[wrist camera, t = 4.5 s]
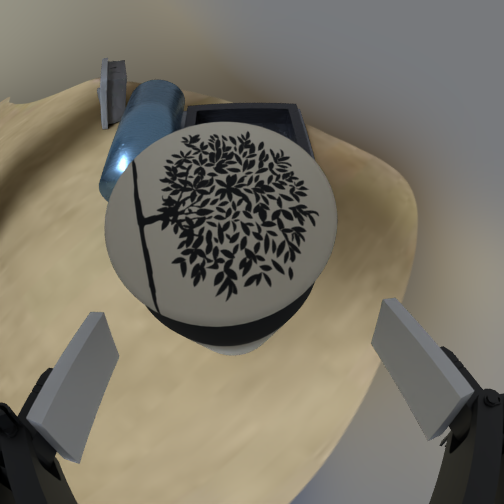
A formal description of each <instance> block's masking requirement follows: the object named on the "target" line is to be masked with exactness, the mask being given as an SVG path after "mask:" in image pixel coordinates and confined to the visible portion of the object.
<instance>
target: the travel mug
mask: <svg viewBox="0 0 504 504" xmlns="http://www.w3.org/2000/svg"><path fill="white" fill-rule="evenodd" d="M336 233H337V208H336V202H335V198H334V195H333V191H332V189H331V186H330V184H329V182H328V180H327V178H326V176H325V174H324V173H323V171H322V170H321V168H320V167H319V165H318V164H317V163H316V162H315V160H314V159H313V158H312V157H311V156H310V155H309V154H308V153H307V152H306V151H305V150H303V149H302V148H301V147H300V146H299V145H297V144H296V143H294V142H293V141H291V140H290V139H288V138H286V137H284V136H283V135H280V134H278V133H276V132H274V131H271V130H269V129H266V128H263V127H259V126H256V125H251V124H246V123H238V122H212V123H204V124H199V125H194V126H190V127H187V128H184V129H181V130H178V131H175V132H173V133H171V134H169V135H167V136H165V137H163V138H161V139H159V140H158V141H156V142H154V143H153V144H151V145H150V146H149V147H147V148H146V149H145V150H143V151H142V152H141V153H140V154H139V155H138V156H137V157H136V158H135V159H134V160H133V161H132V162H131V163H130V164H129V165H128V166H127V168H126V169H125V170H124V172H123V173H122V175H121V176H120V178H119V179H118V181H117V183H116V185H115V187H114V189H113V191H112V193H111V196H110V199H109V202H108V205H107V210H106V215H105V241H106V247H107V251H108V255H109V258H110V260H111V263H112V265H113V268H114V270H115V271H116V273H117V275H118V277H119V278H120V280H121V281H122V282H123V284H124V285H125V287H126V288H127V289H128V290H129V291H130V292H131V293H132V294H133V295H134V296H135V297H136V298H137V299H138V300H140V301H141V302H142V303H143V304H145V305H146V307H147V308H148V310H149V311H150V312H151V313H152V314H153V315H154V316H155V317H156V318H157V319H158V320H159V321H160V322H161V323H163V324H164V325H165V326H167V327H168V328H169V329H171V330H173V331H175V332H176V333H178V334H180V335H182V336H184V337H186V338H188V339H190V340H192V341H194V342H196V343H198V344H200V345H202V346H204V347H206V348H208V349H210V350H212V351H215V352H217V353H220V354H224V355H241V354H245V353H249V352H251V351H253V350H255V349H257V348H258V347H260V346H261V345H262V344H263V343H264V342H265V341H266V340H268V339H269V338H270V337H271V336H272V335H273V334H274V333H275V332H276V331H277V330H278V329H279V328H281V327H282V326H283V325H284V324H285V323H286V322H287V321H288V320H289V319H290V318H291V317H292V316H293V315H294V314H295V313H296V312H297V311H298V310H299V309H300V307H301V306H302V305H303V303H304V302H305V301H306V299H307V297H308V296H309V294H310V292H311V290H312V288H313V285H314V283H315V280H316V279H317V278H318V276H319V275H320V274H321V272H322V271H323V269H324V267H325V265H326V264H327V262H328V259H329V257H330V255H331V253H332V249H333V246H334V243H335V238H336Z"/></svg>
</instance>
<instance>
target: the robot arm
mask: <svg viewBox="0 0 504 504" xmlns="http://www.w3.org/2000/svg"><path fill="white" fill-rule="evenodd" d="M371 344H372V346H373V347H374V349H375V351H376V352H377V354H378V355H379V357H380V359H381V360H382V362H383V363H384V365H385V367H386V369H387V370H388V372H389V373H390V375H391V377H392V378H393V380H394V382H395V383H396V385H397V386H398V389H399V390H400V392H401V394H402V395H403V397H404V399H405V401H406V402H407V404H408V406H409V408H410V410H411V411H412V413H413V415H414V417H415V418H416V420H417V422H418V424H419V426H420V427H421V429H422V431H423V433H424V435H425V437H426V438H427V440H428V441H429V440H431V439H433V438H435V437H437V436H440V435H441V434H442V433H443V432H444V431H445V430H446V429H447V427H448V426H449V427H450V429H451V431H450V433H449V434H448V435H447V436H446V437H445V438H444V439H443V440H442V442H441V444H440V446H442V445H443V444H444V443H445V442H446V441H447V443H446V445H445V447H446V448H445V453H444V457H443V461H442V465H441V468H440V472H439V475H438V479H437V482H436V485H435V488H434V491H433V494H432V497H431V500H430V503H429V504H504V394H499V393H497V392H496V391H495V390H492V389H484V390H483V389H482V388H481V387H480V385H479V384H478V383H477V382H476V380H475V379H474V378H473V377H472V375H471V374H470V373H469V372H468V370H467V369H466V368H465V367H464V366H463V364H462V363H461V362H460V361H459V360H458V358H457V357H456V356H455V355H454V354H453V352H451V351H450V350H448V349H447V348H445V347H444V346H443V347H439V346H438V345H437V344H436V342H435V341H434V340H433V339H432V338H431V337H430V336H429V334H428V333H427V332H426V331H425V330H424V329H423V327H422V326H421V325H420V324H419V323H418V322H417V321H416V320H415V319H414V318H413V316H412V315H411V314H410V313H409V312H408V311H407V310H406V309H405V308H404V307H403V305H402V304H401V303H400V302H399V301H398V300H397V299H396V298H390V299H383V300H382V304H381V309H380V313H379V317H378V320H377V324H376V328H375V331H374V335H373V338H372V342H371ZM118 359H119V354H118V351H117V349H116V346H115V343H114V341H113V338H112V335H111V332H110V329H109V326H108V323H107V320H106V317H105V314H104V312H90V314H89V315H88V316H87V318H86V319H85V321H84V322H83V324H82V325H81V326H80V328H79V329H78V331H77V332H76V334H75V335H74V337H73V338H72V340H71V341H70V343H69V344H68V346H67V348H66V349H65V351H64V352H63V354H62V355H61V357H60V359H59V360H58V362H57V363H56V365H55V367H54V368H48V369H47V370H46V371H45V372H44V373H43V374H42V375H41V376H40V378H39V379H38V381H37V383H36V385H35V386H34V388H33V390H32V392H31V393H30V395H29V397H28V398H27V400H26V402H25V404H24V406H23V407H22V409H21V411H20V413H19V415H18V416H16V415H15V413H14V412H13V411H12V410H11V408H10V407H9V406H8V405H7V404H5V403H0V504H77V502H76V500H75V498H74V496H73V494H72V492H71V490H70V487H69V485H68V483H67V481H66V479H65V476H64V474H63V472H62V469H61V467H60V464H59V462H58V460H57V458H56V457H55V455H56V452H58V453H59V454H60V455H61V456H62V457H63V458H64V459H67V460H70V461H72V462H75V463H79V464H80V460H81V457H82V454H83V451H84V448H85V445H86V442H87V439H88V436H89V433H90V430H91V427H92V424H93V422H94V419H95V416H96V413H97V411H98V408H99V405H100V403H101V400H102V397H103V395H104V392H105V390H106V387H107V385H108V382H109V380H110V377H111V375H112V373H113V370H114V368H115V366H116V363H117V361H118Z"/></svg>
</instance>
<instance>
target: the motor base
mask: <svg viewBox="0 0 504 504" xmlns="http://www.w3.org/2000/svg"><path fill="white" fill-rule="evenodd" d="M184 105H185V98H184V95H183V93H182V91H181V90H180V89H179V88H178V87H177V86H176V85H175V84H173V83H171V82H168V81H165V80H150V81H147V82H144V83H142V84H140V85H139V86H138V87H137V88H136V89H135V90H134V91H133V93H132V95H131V97H130V100H129V102H128V104H127V106H126V109H125V111H124V114H123V116H122V118H121V121H120V123H119V126H118V129H117V131H116V134H115V137H114V139H113V142H112V145H111V148H110V151H109V154H108V157H107V160H106V163H105V166H104V169H103V172H102V176H101V179H100V183H99V190H100V193H101V195H102V196H103V197H104V199H105V200H106V201H108V202H109V199H110V196H111V193H112V191H113V189H114V187H115V185H116V183H117V181H118V179H119V178H120V176H121V175H122V173H123V172H124V170H125V169H126V168H127V166H128V165H129V164H130V163H131V162H132V161H133V160H134V159H135V158H136V157H137V156H138V155H139V154H140V153H141V152H142V151H143V150H145V149H146V148H147V147H149V146H150V145H151V144H153V143H154V142H156V141H158V140H159V139H161V138H163V137H165V136H167V135H169V134H171V133H173V132H175V131H178V130H181V129H184V128H187V127H190V126H194V125H199V124H204V123H212V122H238V123H246V124H251V125H256V126H259V127H263V128H266V129H269V130H271V131H274V132H276V133H278V134H280V135H283V136H284V137H286V138H288V139H290V140H291V141H293V142H294V143H296V144H297V145H299V146H300V147H301V148H302V149H303V150H305V151H306V152H307V153H308V154H309V155H310V156H311V157H312V158H313V159H314V160H315V158H314V155H313V151H312V147H311V144H310V141H309V137H308V134H307V130H306V127H305V124H304V121H303V118H302V115H301V111H300V109H298V108H297V105H296V104H286V103H226V104H208V105H195V106H188V108H187V111H184Z"/></svg>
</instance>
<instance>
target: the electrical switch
mask: <svg viewBox="0 0 504 504" xmlns="http://www.w3.org/2000/svg"><path fill="white" fill-rule="evenodd" d="M123 74H124V75H123ZM126 83H127V76H126V68H125V60H122V61H113V62H108V58H104V59H103V60H102V68H101V83H100V88H98V89H97V94H98V98H99V101H100V105H101V122H102V128H103V129H108V124H111V123H116V122H119V121H121V118H122V116H123V114H124V111H125V105H126Z"/></svg>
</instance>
